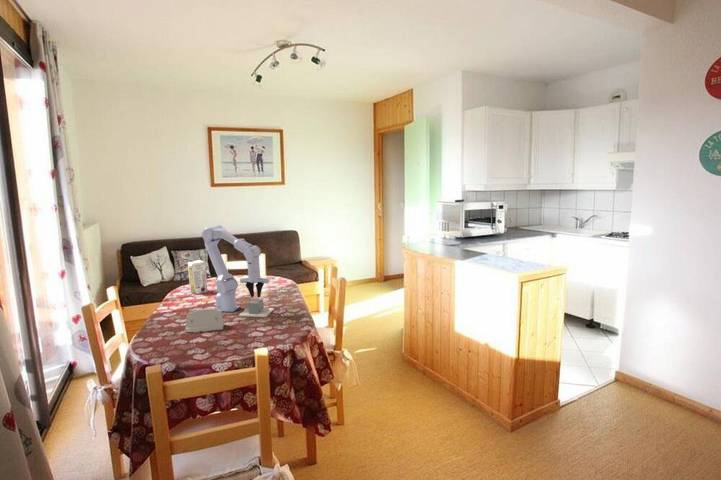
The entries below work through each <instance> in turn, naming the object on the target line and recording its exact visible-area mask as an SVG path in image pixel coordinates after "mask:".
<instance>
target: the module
mask: <svg viewBox="0 0 721 480" xmlns="http://www.w3.org/2000/svg"><path fill="white" fill-rule="evenodd" d="M247 308H248V309H249V314H259V310H260V309H261V308H265V304H264V298H253V299H252V300H251V301H249V302H247Z"/></svg>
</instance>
